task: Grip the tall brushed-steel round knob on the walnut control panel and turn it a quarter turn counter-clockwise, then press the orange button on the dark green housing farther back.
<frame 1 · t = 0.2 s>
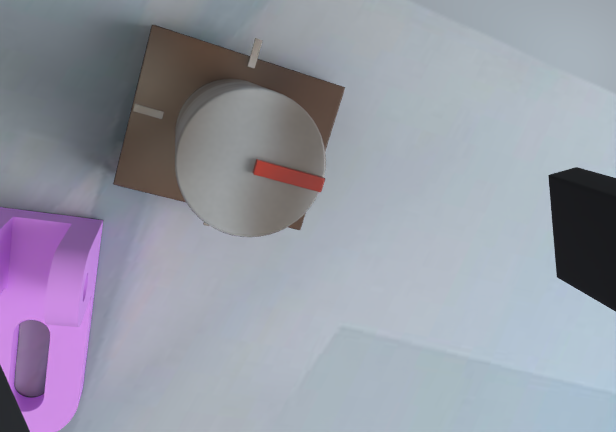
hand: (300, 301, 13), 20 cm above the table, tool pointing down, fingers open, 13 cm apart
panel: (227, 129, 32), on the table
bracket: (38, 322, 32), on the table
dial: (241, 148, 25), point 7 cm above the table, hinge at 0.0°
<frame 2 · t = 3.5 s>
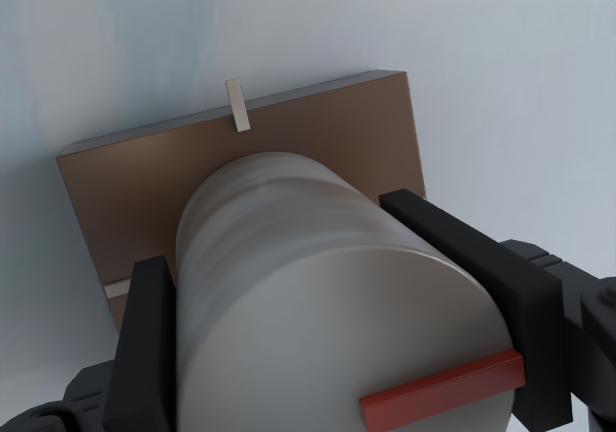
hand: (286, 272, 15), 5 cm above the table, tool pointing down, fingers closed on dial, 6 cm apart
panel: (260, 221, 19), on the table
dial: (303, 306, 13), point 7 cm above the table, hinge at -0.1°, touching gripper
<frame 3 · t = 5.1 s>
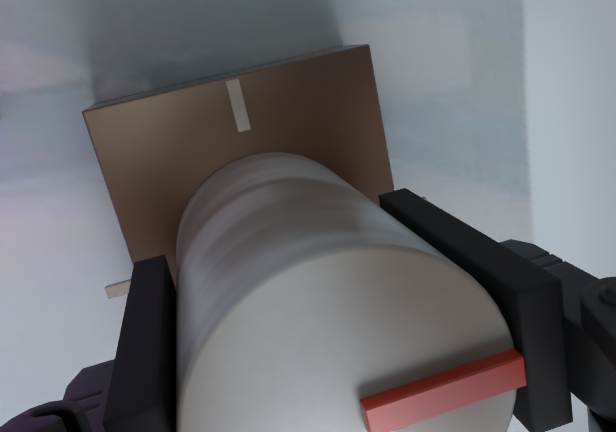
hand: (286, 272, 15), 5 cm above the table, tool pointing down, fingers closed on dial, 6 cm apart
panel: (261, 221, 19), on the table
dial: (304, 306, 13), point 7 cm above the table, hinge at 90.2°, touching gripper
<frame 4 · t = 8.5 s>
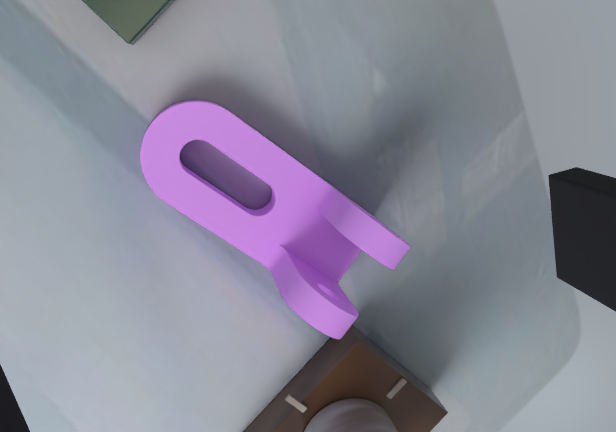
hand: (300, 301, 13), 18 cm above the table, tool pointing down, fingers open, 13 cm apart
panel: (336, 414, 36), on the table
bracket: (254, 192, 31), on the table
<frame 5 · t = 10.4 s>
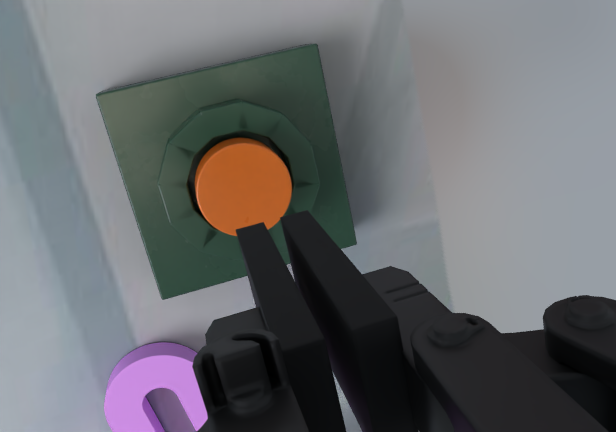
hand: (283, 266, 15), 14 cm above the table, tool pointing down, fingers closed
switchbox: (233, 167, 29), on the table
button: (242, 186, 25), point 4 cm above the table, slide at 0.1 cm
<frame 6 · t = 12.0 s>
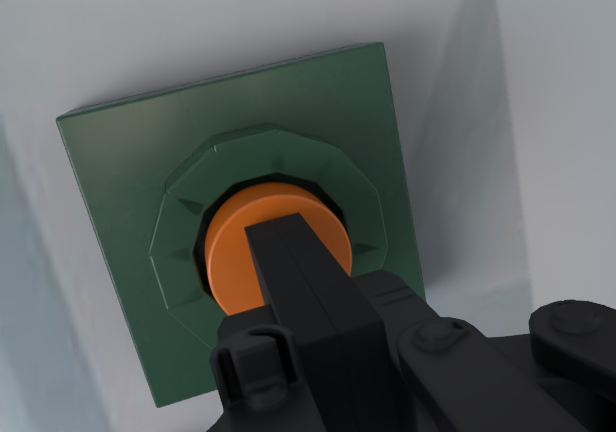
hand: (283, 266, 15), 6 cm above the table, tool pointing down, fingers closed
switchbox: (256, 215, 21), on the table
button: (276, 256, 16), point 4 cm above the table, slide at 0.1 cm, touching gripper
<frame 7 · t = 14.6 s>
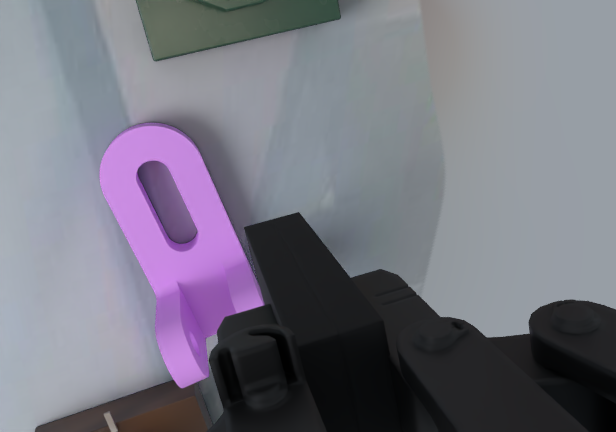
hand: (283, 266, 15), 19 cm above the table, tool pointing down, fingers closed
bracket: (181, 227, 34), on the table
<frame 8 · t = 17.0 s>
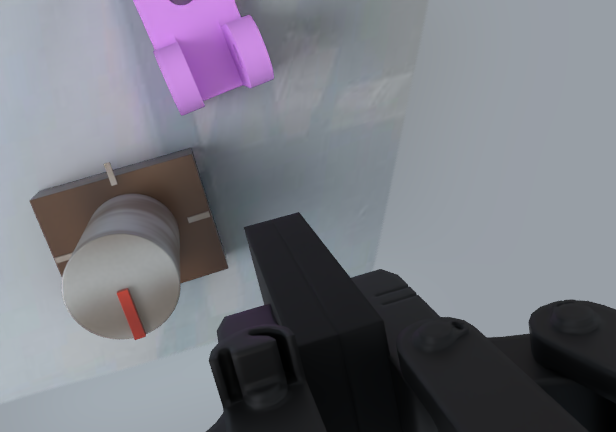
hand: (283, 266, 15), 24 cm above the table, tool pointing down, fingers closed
panel: (136, 225, 39), on the table
dial: (128, 260, 32), point 7 cm above the table, hinge at 90.0°
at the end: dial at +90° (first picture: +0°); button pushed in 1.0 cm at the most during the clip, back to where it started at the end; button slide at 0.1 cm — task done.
